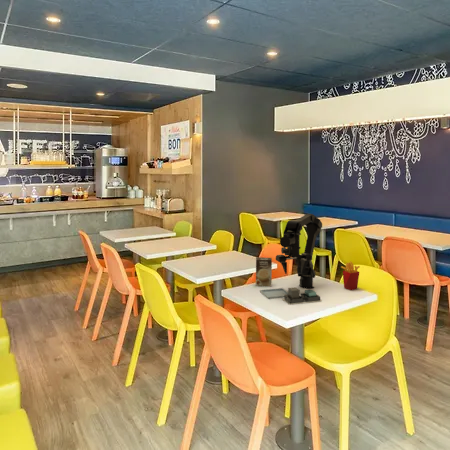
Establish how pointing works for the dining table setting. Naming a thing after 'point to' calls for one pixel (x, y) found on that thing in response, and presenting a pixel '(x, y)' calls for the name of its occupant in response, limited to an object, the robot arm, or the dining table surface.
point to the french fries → (350, 276)
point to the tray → (274, 293)
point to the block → (293, 293)
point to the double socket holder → (303, 298)
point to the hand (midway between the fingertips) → (293, 273)
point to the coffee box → (263, 271)
